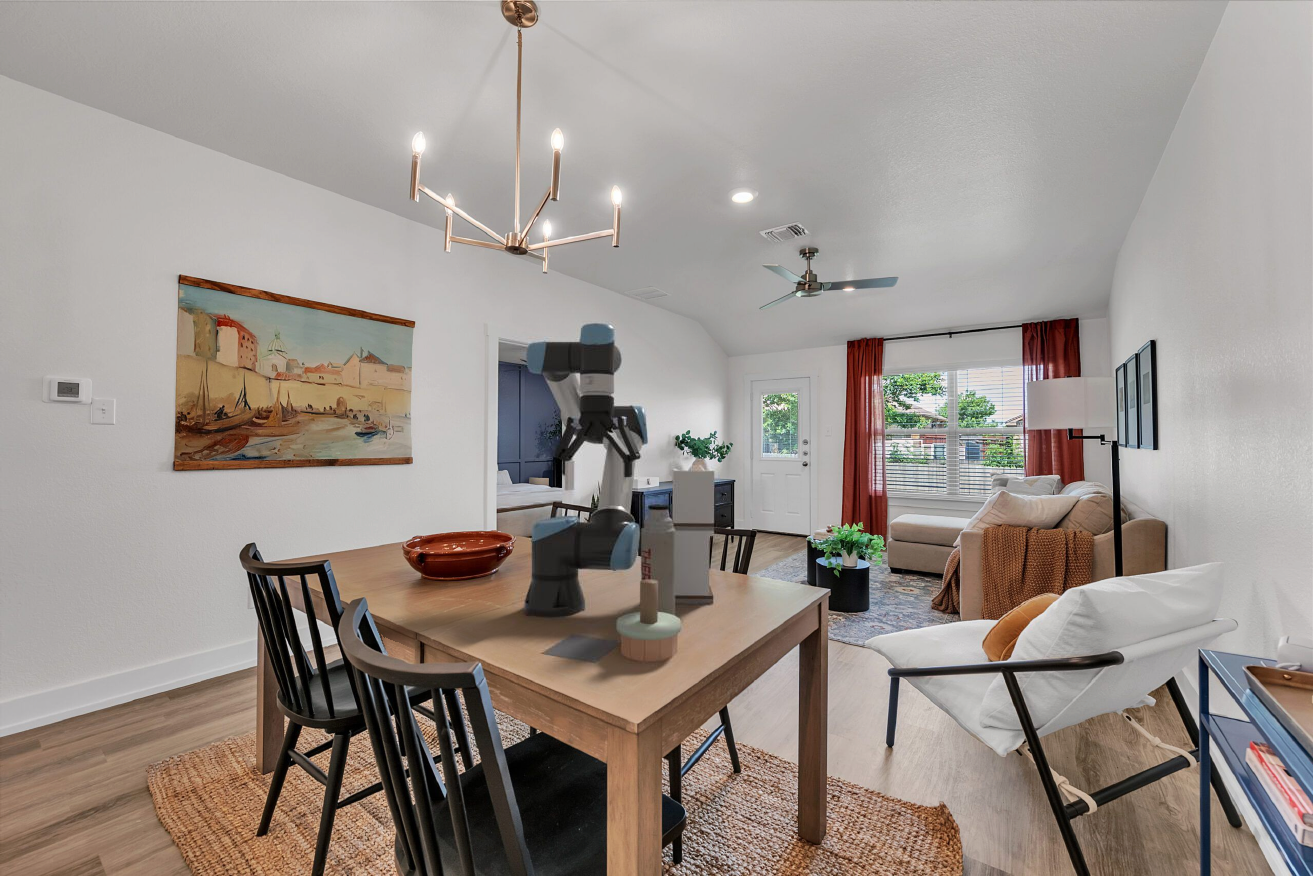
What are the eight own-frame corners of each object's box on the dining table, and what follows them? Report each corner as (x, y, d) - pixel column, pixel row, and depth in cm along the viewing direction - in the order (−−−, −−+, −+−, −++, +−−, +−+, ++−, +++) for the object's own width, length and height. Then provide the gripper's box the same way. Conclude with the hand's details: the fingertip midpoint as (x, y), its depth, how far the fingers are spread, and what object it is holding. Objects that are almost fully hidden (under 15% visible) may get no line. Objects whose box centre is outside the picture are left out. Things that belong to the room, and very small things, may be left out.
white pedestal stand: (713, 603, 150) (714, 471, 150) (673, 603, 150) (674, 470, 150) (709, 591, 161) (710, 468, 161) (672, 591, 161) (672, 468, 161)
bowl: (611, 658, 112) (611, 633, 112) (635, 640, 122) (635, 617, 122) (664, 667, 108) (664, 641, 108) (684, 647, 118) (684, 623, 118)
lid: (605, 634, 111) (605, 585, 111) (632, 615, 123) (633, 571, 123) (667, 643, 106) (667, 593, 106) (689, 623, 118) (689, 577, 118)
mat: (541, 656, 113) (541, 653, 113) (572, 636, 124) (572, 634, 124) (594, 665, 108) (594, 662, 108) (621, 644, 119) (621, 642, 119)
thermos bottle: (648, 632, 127) (649, 507, 127) (635, 621, 135) (636, 503, 135) (680, 627, 131) (681, 506, 130) (666, 617, 138) (667, 502, 138)
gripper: (539, 395, 127) (538, 490, 127) (641, 392, 117) (641, 495, 117) (557, 397, 133) (556, 487, 133) (655, 395, 124) (655, 492, 124)
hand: (596, 491), depth 125 cm, fingers open, 13 cm apart
